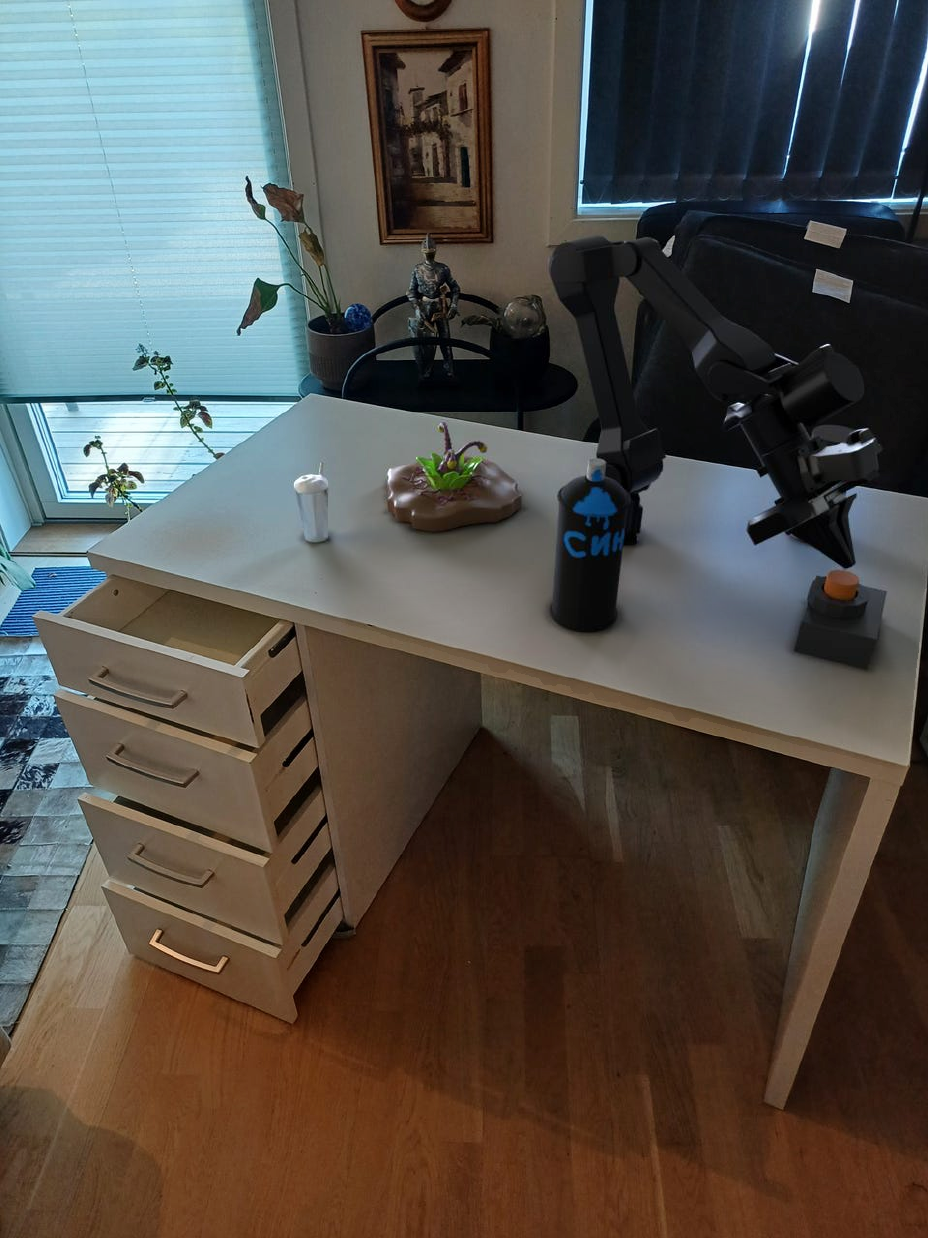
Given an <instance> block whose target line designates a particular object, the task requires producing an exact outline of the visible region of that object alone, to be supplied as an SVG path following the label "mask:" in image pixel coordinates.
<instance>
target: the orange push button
mask: <svg viewBox="0 0 928 1238" xmlns="http://www.w3.org/2000/svg"><path fill="white" fill-rule="evenodd" d="M826 576H827V579H826V582H825V586H824V593H825V594H826V595H828V596H830V597H832V598H835V599H840V600H852V599H853V598H854V597H855V594H856V590H857V587H858V584H860V578H859V577H858V576H857V575H856V574H855V573H853V572H851V571H848V570H846V569H833V570H830V571H829V572H827V575H826Z"/></svg>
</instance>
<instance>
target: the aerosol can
mask: <svg viewBox="0 0 928 1238" xmlns="http://www.w3.org/2000/svg"><path fill="white" fill-rule="evenodd" d="M605 468H606V462H605V461H604V460H602V459H598V458H597V457H595V458H594V457H593V458H591V459H589V460H587V469H586V474H585V475H581V476H578V477H575V478H572V479H571V480H570V481H569V482H568V483H566V484H565V485H564V486H562V487H560V488H559V490H558V491H557V494H556V499H557V501H558V509H557V525H556V541H555V554H554V569H553V572H554V573H553V584H552V585H553V586H552V597H551V604H550V606H549V615H550V617H551V619H552V620H553V621H554V622H555V623H556V624H558V625H559V626H561V627H563V628H565V629H567V630H571V631H574V632H580V633H591V632H592V633H593V632H598V631H602V630H605V629H607V628H609V627H611V626H612V625H613V624H614V623H615V622H616V620H617V618H618V609H617V602H618V593H619V585H620V576H621V568H622V561H623V558H622V557H623V551H624V544H623V542H624V534H625V525H626V517H627V508H628V506H629V505H630V503H631V498H630V495H629V494H628V492H627V491H626V490H624V488H623V487H622V486H621V485H620V484H619V483H618V482H616V481H615V480H613V479H610V478H608V477H605Z"/></svg>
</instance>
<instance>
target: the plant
mask: <svg viewBox="0 0 928 1238" xmlns="http://www.w3.org/2000/svg"><path fill="white" fill-rule="evenodd" d="M437 431H438V432H439V433H441V434H444V451H443V452H442V455H439V454H437V453H435V452H431V453H430V458H425V457H418V456H416V457H415V460H416V461H415V462H412V463H407V464H402V465H399V466H394V467H390V468H389V469H388V472H387V475H386V485H387V494H388V495H387V497H388V498H387V501H386V503H387V511H388V512H389V513H391V514H394V518H395V520H396V521H397V522H402V523H409V524H410V523H411V526H412V528H413V529H414V530H418V531H421V532H423V531H424V532H433V533H434V532H435V533H439V532H443V531H449V530H452V529H456V528H459V527H464V526H469V525H476V524H477V525H478V524H485V523H498V522H500V521H501V520H503V519H507V518H509V517H511V516H512V515H513V514H514V513H515V512H518V511H520V510H521V509H522V494H520V493H519V492H518V482H517V480H516V479H515V478H513V477H512V476H511V475H509V474H508V473H507V472H506V470H505V471H504V469H503V468H501V466H499V465H498V464H497V463H495V462H493V461H491V460H490V459H486V458H484V457H483V456H478V457H472V456H466V455H465V453H466V451H467V450H468V449H469V448H472V447H475V446H476V447H477V449H478V451H479V452H480V453H481V454H486V453H488V446H487V444H486V443H485V442H482V441H480V440H478V441H476V440H475V441H471V442H468V443H466V444H464V445H463V446H462V447H461V448H460V449H459V451H457V452H456V451H455V450H454V449H453V447H452V439H451V435H450V432H449V428H448V424H447V422H445V421H442V422H440V423H439V424H438V426H437Z"/></svg>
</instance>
